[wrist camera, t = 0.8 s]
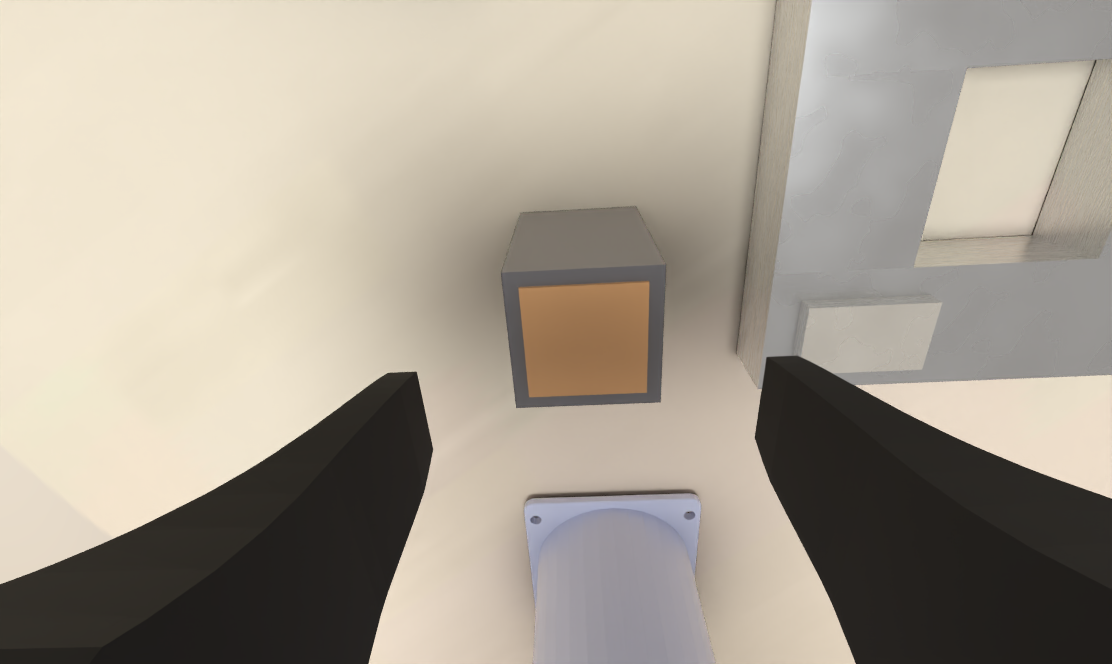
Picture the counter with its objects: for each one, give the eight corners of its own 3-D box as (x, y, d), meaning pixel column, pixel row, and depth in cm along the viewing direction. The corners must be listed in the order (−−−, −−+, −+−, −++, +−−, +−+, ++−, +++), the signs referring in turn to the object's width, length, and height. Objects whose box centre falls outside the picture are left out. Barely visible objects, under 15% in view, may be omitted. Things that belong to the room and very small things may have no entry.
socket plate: (1107, 338, 20) (1197, 381, 17) (736, 353, 20) (763, 398, 17) (1336, -141, 13) (1537, -196, 11) (787, -98, 14) (842, -139, 11)
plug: (634, 311, 20) (661, 404, 14) (529, 316, 20) (515, 409, 14) (635, 206, 18) (666, 265, 12) (520, 212, 18) (500, 274, 12)
